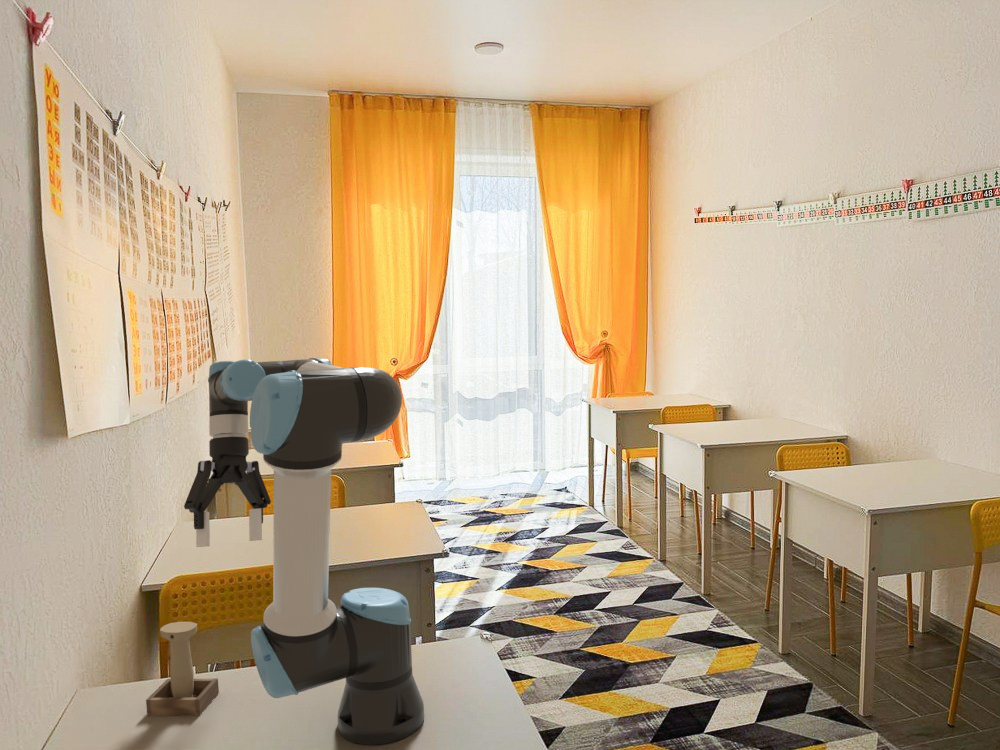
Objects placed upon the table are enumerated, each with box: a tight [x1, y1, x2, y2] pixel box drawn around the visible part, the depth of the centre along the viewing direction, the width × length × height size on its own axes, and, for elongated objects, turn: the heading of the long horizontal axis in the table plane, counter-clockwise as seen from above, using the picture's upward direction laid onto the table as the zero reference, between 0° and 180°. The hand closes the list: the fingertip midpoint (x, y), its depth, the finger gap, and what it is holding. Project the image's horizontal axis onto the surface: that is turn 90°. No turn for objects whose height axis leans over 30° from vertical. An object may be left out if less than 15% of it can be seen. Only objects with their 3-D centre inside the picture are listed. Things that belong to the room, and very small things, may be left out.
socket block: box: [145, 677, 220, 717], centre depth 138 cm, size 10×8×3 cm
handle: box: [159, 621, 198, 698], centre depth 137 cm, size 5×6×15 cm
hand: (230, 543), depth 146 cm, fingers open, 13 cm apart
